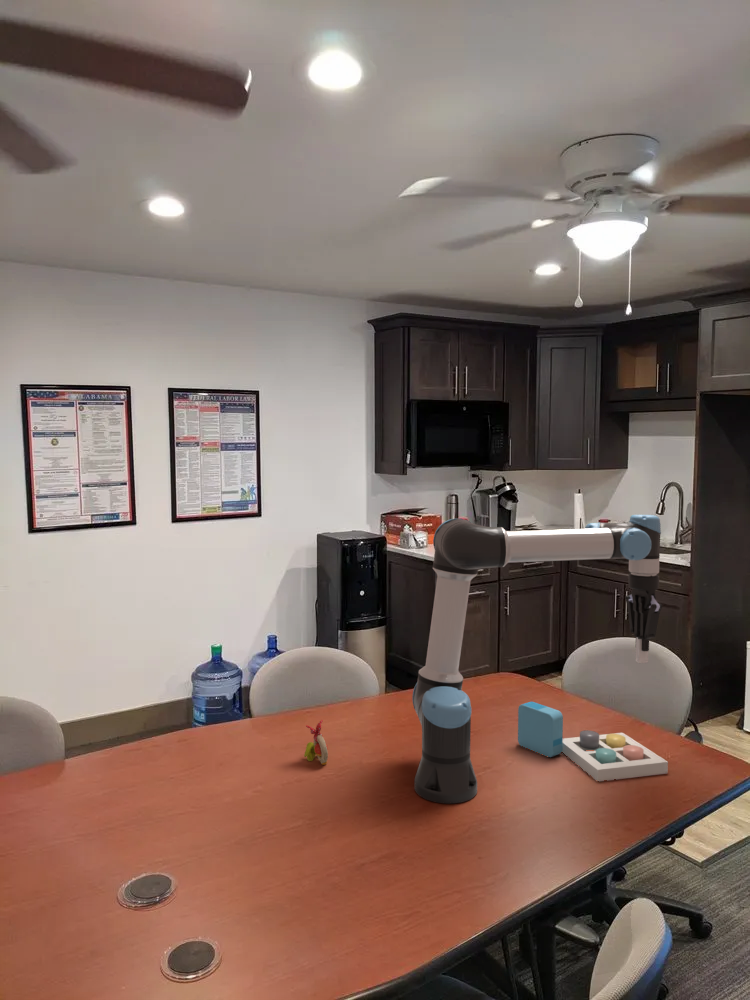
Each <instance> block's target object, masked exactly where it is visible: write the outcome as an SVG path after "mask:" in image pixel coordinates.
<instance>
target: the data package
mask: <svg viewBox="0 0 750 1000" xmlns="http://www.w3.org/2000/svg"><path fill="white" fill-rule="evenodd" d="M517 709H518V710H517V719H518V720H517V742H518V744H519V746H520V747H522V746H523V747H522V748H524V747H525V748H524V749H526V748H528V749H530V750H529V751H531V750H533V751H535V752H534V753H536V752H538V753H540V754H539V755H541V754H543V755H545V756H548V757H550V758H553V757H555V756H558V755H560V754H562V753H561V752H562V742H563V739H564V738H563V731H564V725H563V724H564V716H563V713H562V712H561V711H560V710H558V709H555V708H553V707H549V706H547V705H544V704H541V703H538V702H534V701H529V702H525V703H522V704H519V706H518V708H517ZM528 749H527V750H528ZM533 751H532V752H533ZM538 753H537V754H538ZM543 755H542V756H543ZM545 756H544V757H545ZM548 757H547V758H548Z"/></svg>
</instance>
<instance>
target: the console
mask: <svg viewBox="0 0 750 1000" xmlns="http://www.w3.org/2000/svg"><path fill="white" fill-rule="evenodd" d="M608 734H609V733H605V734H599V748H608V749H612V750H614V751H615V752H616V762H615V763H606V764H601V763H600V762H598V761H597V760H596V749H586V748H583V747H581V746H580V736H577V737H575V736H574V737H564V738H563V742H562V752H563V753H564V754H565V755H566V756H568V757H569V758H570V759H571V760H572V761H574V762H575V763H576V764H577V765H579V766H580V767H581V768H582V769H583V770H582V769H581V768H580V767H579V766H578V767H579V768H580V769H581V770H582V771H584V772H585V771H586V772H587V773H588V774H587V773H586V772H585V773H586V774H587V775H588V776H590V775H591V776H592V777H593V778H592V777H591V776H590V777H591V778H592V779H593V780H594V781H596V780H597V781H599V782H604V780H607V781H614V779H616V780H622V779H631V778H638V777H639V778H640V777H648V776H656V775H664V774H669V773H668V771H669V770H668V769H669V767H668V766H669V762H668V761H667V760H666V759H664V758H663V757H662V756H660V755H658V754H656V753H655V752H654V751H652V750H650V749H649V748H647V747H646V746H644V745H643V744H641V743H639V742H638V741H636V740H634V739H633V738H632V737H630V736H629V735H627V734H625V733H624V732H616V733H612V734H619V735H622V736H624V737H625V738H626V743H625V746H626V745H634V746H638V747H641V748H642V749H643V750H644V753H643V759H642V760H633V761H629V760H628V759H626V758H625V757H623V747H622V748H610V747H609V746H608V745H606V735H608ZM599 748H597V749H599ZM586 750H594V751H586ZM563 753H562V754H563ZM564 754H563V755H564ZM565 755H564V756H565ZM566 756H565V757H566ZM568 757H567V758H568ZM569 758H568V759H569ZM570 759H569V760H570ZM571 760H570V761H571ZM572 761H571V762H572ZM574 762H573V763H574ZM575 763H574V764H575ZM576 764H575V765H576ZM577 765H576V766H577ZM597 781H596V782H597Z"/></svg>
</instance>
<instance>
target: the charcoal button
mask: <svg viewBox="0 0 750 1000" xmlns="http://www.w3.org/2000/svg"><path fill="white" fill-rule="evenodd" d="M599 735H600V734H599V732H597V731H594V730H586V729H585V730H581V731H580V732H579V737H580V746H581V747H583V748H586V749H597V748H599Z"/></svg>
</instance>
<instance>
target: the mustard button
mask: <svg viewBox="0 0 750 1000" xmlns="http://www.w3.org/2000/svg"><path fill="white" fill-rule="evenodd" d="M607 734H608V735H606V745H608V746H609V747H610V748H622V747H624V746H625V743H626V738H625V737H624V736H622V735H619V734H613V733H607Z"/></svg>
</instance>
